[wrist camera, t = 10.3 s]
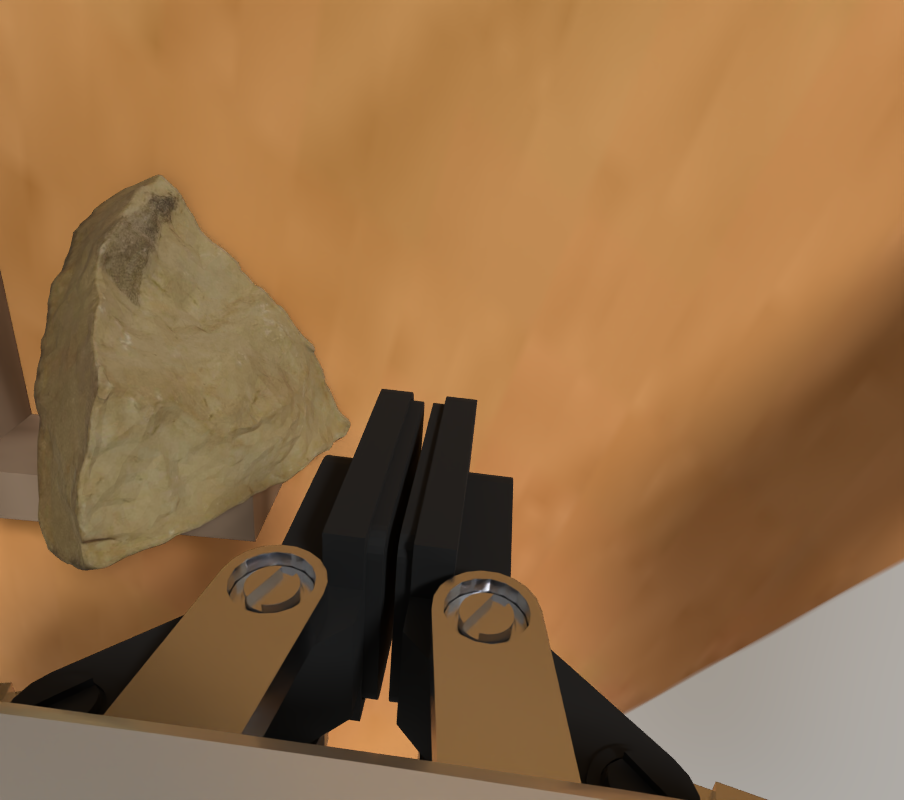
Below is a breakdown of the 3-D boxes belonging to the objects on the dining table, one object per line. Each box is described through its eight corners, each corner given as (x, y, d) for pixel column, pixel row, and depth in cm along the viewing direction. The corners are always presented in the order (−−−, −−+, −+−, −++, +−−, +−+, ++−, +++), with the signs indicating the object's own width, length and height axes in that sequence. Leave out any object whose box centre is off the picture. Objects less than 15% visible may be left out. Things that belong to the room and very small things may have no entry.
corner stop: (270, 40, 21) (226, 36, 17) (284, 479, 28) (255, 541, 24) (-140, 1, 21) (-270, -11, 17) (-20, 451, 28) (-94, 509, 24)
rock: (-26, 164, 21) (20, 466, 24) (-8, 179, 14) (52, 592, 17) (309, 180, 27) (309, 418, 30) (430, 196, 20) (413, 498, 23)
